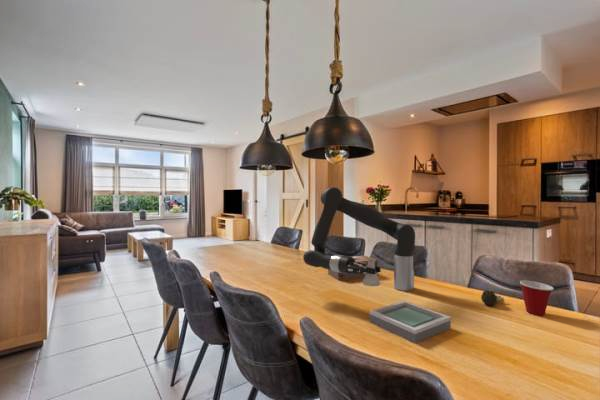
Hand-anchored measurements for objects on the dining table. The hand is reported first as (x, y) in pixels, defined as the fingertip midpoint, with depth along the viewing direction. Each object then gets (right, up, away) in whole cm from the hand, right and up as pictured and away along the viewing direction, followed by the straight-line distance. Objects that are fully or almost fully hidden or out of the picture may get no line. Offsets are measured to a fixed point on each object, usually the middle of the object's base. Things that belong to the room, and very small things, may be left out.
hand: (377, 270), depth 120 cm
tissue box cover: (+1, -18, +61) cm, 63 cm away
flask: (-2, -6, +2) cm, 7 cm away
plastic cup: (+64, -17, 0) cm, 66 cm away
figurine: (+54, -18, +13) cm, 59 cm away
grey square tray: (+9, -18, -10) cm, 22 cm away
